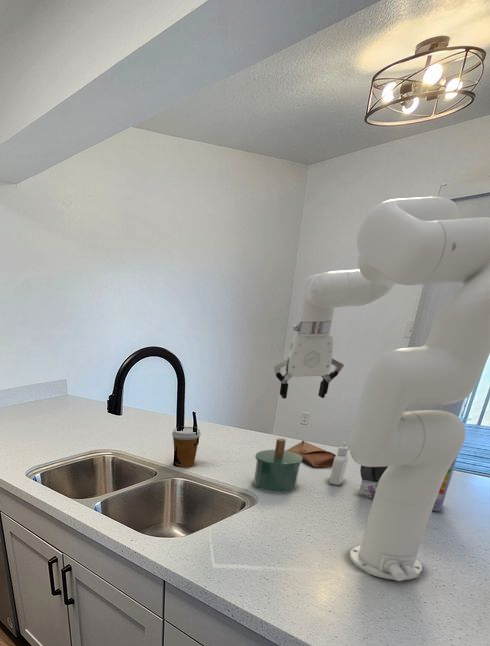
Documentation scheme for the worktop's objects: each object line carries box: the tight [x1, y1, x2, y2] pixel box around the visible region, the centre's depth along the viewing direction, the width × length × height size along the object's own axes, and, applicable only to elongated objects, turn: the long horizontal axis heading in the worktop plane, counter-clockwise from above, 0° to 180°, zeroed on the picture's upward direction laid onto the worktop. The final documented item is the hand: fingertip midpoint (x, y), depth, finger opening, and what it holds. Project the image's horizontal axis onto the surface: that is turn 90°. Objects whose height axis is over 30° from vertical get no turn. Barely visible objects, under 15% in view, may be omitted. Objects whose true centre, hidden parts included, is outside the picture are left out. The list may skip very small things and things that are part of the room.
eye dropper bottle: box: [328, 442, 349, 486], centre depth 127 cm, size 4×6×12 cm
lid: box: [254, 438, 303, 466], centre depth 125 cm, size 13×13×6 cm
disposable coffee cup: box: [171, 426, 202, 468], centre depth 147 cm, size 10×10×12 cm
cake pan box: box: [358, 454, 459, 512], centre depth 112 cm, size 19×5×18 cm, turn 45°
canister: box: [253, 459, 301, 493], centre depth 128 cm, size 11×11×8 cm
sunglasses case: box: [285, 439, 337, 468], centre depth 148 cm, size 18×7×7 cm, turn 12°
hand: (302, 397), depth 119 cm, fingers open, 9 cm apart
